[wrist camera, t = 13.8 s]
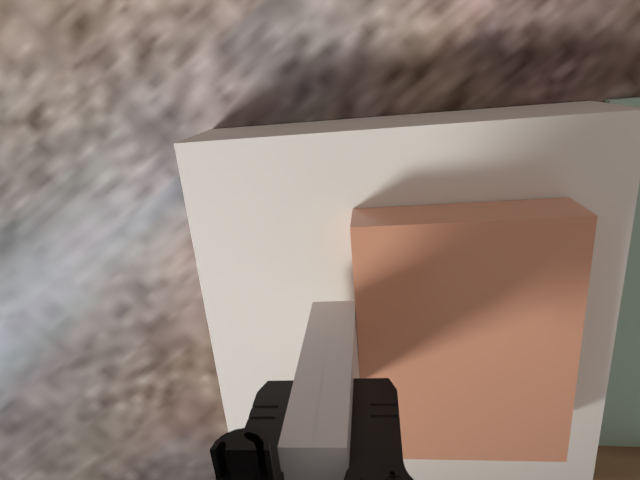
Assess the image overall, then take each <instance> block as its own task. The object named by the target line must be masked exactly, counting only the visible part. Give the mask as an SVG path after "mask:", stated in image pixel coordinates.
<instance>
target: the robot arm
mask: <svg viewBox="0 0 640 480" xmlns="http://www.w3.org/2000/svg"><path fill="white" fill-rule="evenodd" d="M210 453H211V457H212V462H213V466H214V471H215V475H216V480H414V479H413V478H412V477H411V476H410V475H409V474H408V472H407V470H406V468H405V466H404V462H403V453H402V441H401V430H400V418H399V406H398V395H397V389H396V388H395V386H394V385H393V383H392V382H391V381H390V379H389V378H360V371H359V356H358V341H357V326H356V311H355V301H326V302H313V303H312V307H311V311H310V315H309V319H308V324H307V328H306V332H305V336H304V340H303V344H302V348H301V352H300V356H299V361H298V365H297V369H296V373H295V377H294V380H287V381H267V382H266V383H265V384H264V385H263V387H262V388H261V389H260V390H259V391H258V392H257V394H256V397H255V400H254V402H253V405H252V408H251V411H250V414H249V419H248V420H247V423H246V426H245V428H241V429H235V430H233V431H230V432H228V433H226V434H224V435H223V436H221V437H220V438H219V439H218V440H216V441H215V443H214V444H213V446H212V447H211V449H210Z"/></svg>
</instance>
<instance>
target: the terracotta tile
mask: <svg viewBox="0 0 640 480" xmlns="http://www.w3.org/2000/svg"><path fill="white" fill-rule="evenodd" d="M597 217H598V216H597V215H596V214H594V213H593V212H591V211H589V210H588V209H586V208H585V207H583V206H582V205H580V204H579V203H577V202H576V201H574V200H573V199H571V198H570V197H565V198H546V199H527V200H508V201H489V202H470V203H451V204H432V205H413V206H394V207H374V208H355V209H352V216H351V223H350V236H351V251H352V266H353V281H354V296H355V311H356V326H357V341H358V356H359V371H360V378H389V379H390V381H391V382H392V383H393V385H394V386H395V388H396V389H397V395H398V406H399V418H400V430H401V441H402V453H403V459H429V460H486V461H543V462H567V455H568V447H569V439H570V431H571V423H572V415H573V407H574V399H575V391H576V383H577V375H578V367H579V360H580V352H581V344H582V336H583V328H584V320H585V312H586V304H587V296H588V288H589V280H590V272H591V264H592V256H593V248H594V240H595V233H596V225H597Z"/></svg>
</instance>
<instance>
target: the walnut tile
mask: <svg viewBox="0 0 640 480" xmlns="http://www.w3.org/2000/svg"><path fill="white" fill-rule="evenodd" d="M593 480H640V447H625V446H598V450H597V456H596V462H595V469H594V475H593Z"/></svg>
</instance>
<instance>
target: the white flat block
mask: <svg viewBox="0 0 640 480" xmlns="http://www.w3.org/2000/svg"><path fill="white" fill-rule="evenodd" d="M174 147H175V152H176V157H177V163H178V168H179V173H180V179H181V184H182V189H183V194H184V200H185V205H186V210H187V216H188V221H189V226H190V232H191V237H192V242H193V247H194V253H195V258H196V263H197V269H198V274H199V279H200V285H201V290H202V295H203V300H204V306H205V311H206V316H207V322H208V327H209V332H210V338H211V343H212V348H213V353H214V359H215V364H216V369H217V375H218V380H219V385H220V391H221V396H222V401H223V406H224V412H225V417H226V422H227V428H228V432H230V431H233V430H235V429H241V428H245V426H246V423H247V420H248V419H249V414H250V411H251V408H252V405H253V402H254V400H255V397H256V394H257V392H258V391H259V390H260V389H261V388H262V387H263V385H264V384H265V383H266V382H267V381H287V380H294V377H295V373H296V369H297V365H298V361H299V356H300V352H301V348H302V344H303V340H304V336H305V332H306V328H307V324H308V319H309V315H310V311H311V307H312V303H313V302H326V301H355V296H354V281H353V266H352V251H351V236H350V223H351V216H352V209H355V208H374V207H394V206H413V205H432V204H451V203H470V202H489V201H508V200H527V199H546V198H565V197H570V198H571V199H573V200H574V201H576V202H577V203H579V204H580V205H582V206H583V207H585V208H586V209H588V210H589V211H591V212H593V213H594V214H596V215H597V216H598V217H597V225H596V233H595V240H594V248H593V256H592V264H591V272H590V280H589V288H588V296H587V304H586V312H585V320H584V328H583V336H582V344H581V352H580V360H579V367H578V375H577V383H576V391H575V399H574V407H573V415H572V423H571V431H570V439H569V447H568V455H567V462H543V461H486V460H429V459H403V462H404V466H405V468H406V470H407V472H408V474H409V475H410V476H411V477H412V478H413V479H414V480H593V475H594V469H595V462H596V456H597V450H598V443H599V437H600V431H601V424H602V418H603V411H604V405H605V399H606V392H607V386H608V380H609V373H610V367H611V361H612V354H613V348H614V342H615V335H616V329H617V322H618V316H619V310H620V303H621V297H622V291H623V284H624V278H625V272H626V265H627V259H628V252H629V246H630V240H631V233H632V227H633V221H634V214H635V208H636V202H637V195H638V189H639V183H640V107H632V106H625V105H618V104H611V103H604V102H597V101H579V102H566V103H553V104H539V105H526V106H513V107H499V108H486V109H473V110H460V111H446V112H433V113H420V114H406V115H393V116H380V117H366V118H353V119H340V120H326V121H313V122H300V123H287V124H273V125H260V126H247V127H233V128H220V129H211V130H208V131H205V132H203V133H200V134H197V135H195V136H192V137H190V138H187V139H184V140H182V141H179V142H176V143H174Z"/></svg>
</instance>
